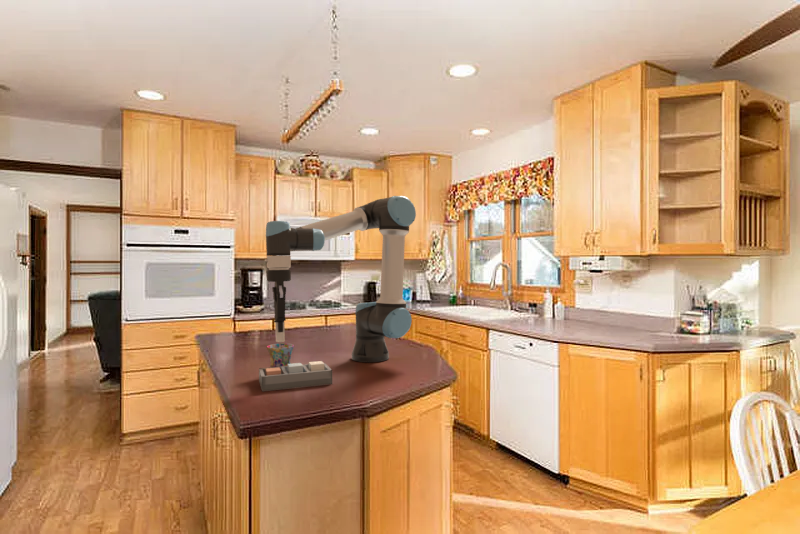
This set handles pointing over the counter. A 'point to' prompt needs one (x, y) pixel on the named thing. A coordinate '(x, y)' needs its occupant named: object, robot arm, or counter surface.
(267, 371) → the key
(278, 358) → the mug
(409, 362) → the counter surface
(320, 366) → the key
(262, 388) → the grey compartment tray
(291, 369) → the key middle
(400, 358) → the counter surface
